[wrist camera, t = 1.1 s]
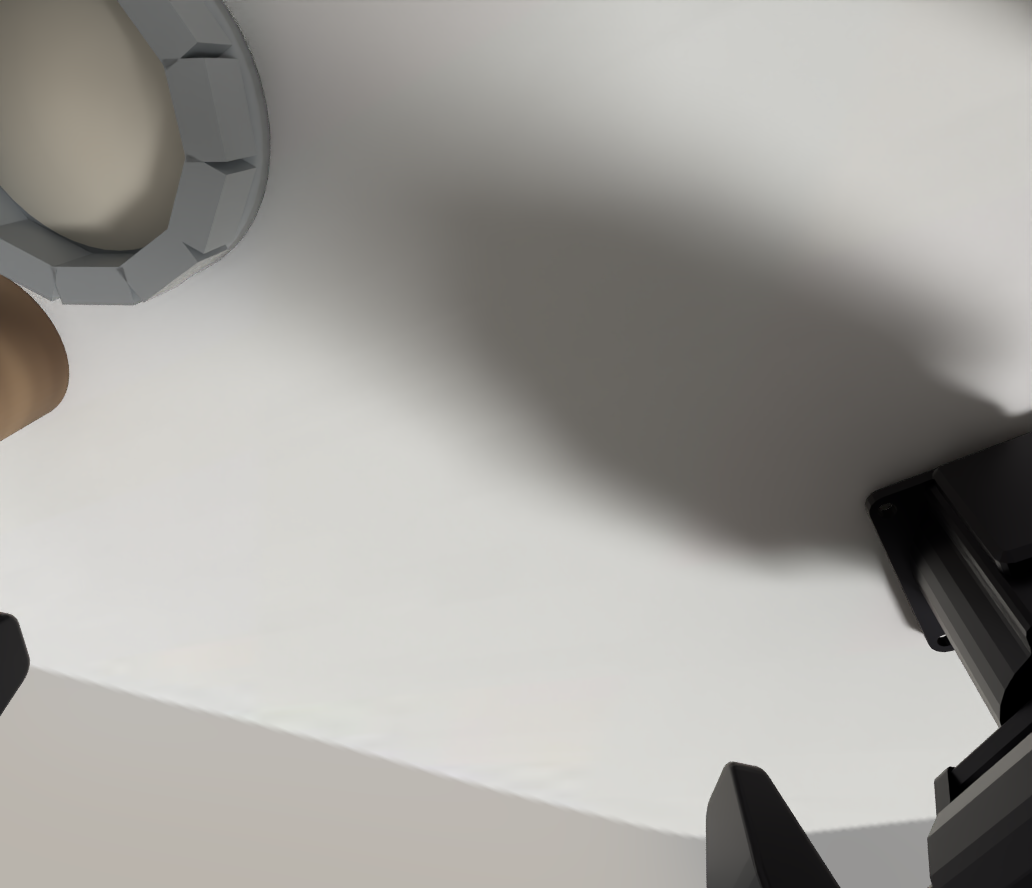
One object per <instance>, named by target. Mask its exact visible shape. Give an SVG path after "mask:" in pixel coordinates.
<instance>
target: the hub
mask: <svg viewBox="0 0 1032 888" xmlns="http://www.w3.org/2000/svg"><path fill="white" fill-rule="evenodd" d="M269 162H270V128H269V121H268V113H267V106H266V101H265V97H264V93H263V89H262V85H261V80H260V78H259V75H258V72H257V69H256V66H255V63H254V60H253V58H252V55H251V53H250V50H249V48H248V46H247V44H246V42H245V40H244V38H243V35H242V33H241V31H240V29H239V27H238V26H237V24H236V22H235V21H234V19H233V17H232V15H231V14H230V12H229V10H228V9H227V7H226V5H225V4H224V2H223V1H222V0H0V274H1V275H3V276H5V277H6V278H8V279H10V280H12V281H14V282H16V283H18V284H20V285H22V286H24V287H25V288H27V289H29V290H31V291H33V292H35V293H37V294H39V295H41V296H43V297H45V298H46V299H48V300H50V301H54V300H56V299H59V298H61V301H62V304H79V305H136V304H138V303H140V302H142V301H143V302H146V301H148V300H150V299H152V298H154V297H156V296H158V295H160V294H163V293H165V292H167V291H169V290H171V289H173V288H175V287H177V286H178V285H180V284H181V283H182V282H184V281H185V280H187V279H188V278H189V277H191V276H192V275H193V274H195V273H198V272H200V271H202V270H204V269H206V268H208V267H209V266H211V265H213V264H214V263H216V262H218V261H219V260H221V259H222V258H223V257H224V256H225V255H227V254H228V253H229V252H230V251H231V250H232V249H234V248H235V246H236V245H237V244H238V243H239V241H240V240H241V239H242V238H243V237H244V235H245V234H246V233H247V231H248V229H249V227H250V226H251V224H252V222H253V221H254V219H255V217H256V214H257V212H258V209H259V207H260V204H261V202H262V199H263V196H264V192H265V187H266V183H267V179H268V171H269Z"/></svg>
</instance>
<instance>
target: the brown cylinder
mask: <svg viewBox="0 0 1032 888" xmlns="http://www.w3.org/2000/svg"><path fill="white" fill-rule="evenodd" d="M68 381H69V365H68V359H67V355H66V351H65V348H64V345H63V343H62V340H61V338H60V336H59V334H58V332H57V330H56V328H55V327H54V325H53V323H52V322H51V320H50V319H49V317H48V316H47V315H46V313H45V312H44V311H43V310H42V308H41V307H40V306H39V305H38V304H37V303H36V302H35V301H34V300H33V299H32V298H31V296H30V295H28V294H27V293H26V292H25V291H24V290H23V289H21V288H20V287H19V286H18V285H16V284H15V283H13V282H12V281H11V280H9V279H8V278H6V277H4V276H3V275H1V274H0V441H1V440H3V439H5V438H7V437H8V436H10V435H12V434H13V433H15V432H17V431H18V430H20V429H22V428H23V427H25V426H27V425H29V424H30V423H32V422H34V421H35V420H37V419H39V418H40V417H42V416H44V415H46V414H47V413H49V412H51V411H52V410H53V409H54V408H56V407H57V406H58V405H59V403H60V402H61V401H62V399H63V397H64V395H65V393H66V390H67V387H68Z"/></svg>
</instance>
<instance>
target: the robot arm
mask: <svg viewBox="0 0 1032 888" xmlns="http://www.w3.org/2000/svg"><path fill="white" fill-rule="evenodd" d="M887 503H891V504H892V505H891V507H890V508H888V509H886V510H879V508H880V506H882V505H884V504H887ZM865 507H866V511H867V513H868V515H869V517H870V519H871V522H872V524H873V526H874V528H875V530H876V532H877V535H878V537H879V539H880V541H881V543H882V546H883V548H884V550H885V552H886V554H887V556H888V559H889V561H890V563H891V565H892V567H893V569H894V572H895V574H896V576H897V578H898V580H899V582H900V585H901V587H902V589H903V591H904V593H905V595H906V598H907V600H908V602H909V604H910V606H911V608H912V611H913V613H914V615H915V617H916V619H917V621H918V624H919V626H920V628H921V630H922V632H923V634H924V637H925V638H926V640H927V642H928V644H929V646H930V647H931V648H932V649H933V650H936V651H939V652H948V651H953V650H955V651H956V653H957V655H958V657H959V658H960V660H961V662H962V664H963V665H964V667H965V669H966V671H967V672H968V674H969V676H970V678H971V679H972V681H973V683H974V685H975V686H976V688H977V690H978V692H979V693H980V695H981V697H982V699H983V701H984V702H985V704H986V706H987V708H988V709H989V711H990V713H991V715H992V716H993V718H994V720H995V722H996V723H997V725H998V727H999V729H997V730H996V731H995V732H994V733H993V734H992V735H991V736H990V737H989V738H987V739H986V740H985V741H984V742H983V743H982V744H981V745H980V746H979V747H977V748H976V749H975V750H974V751H973V752H972V753H971V754H970V755H969V756H967V757H966V758H965V759H964V760H963V761H962V762H961V763H960V764H959V765H957V766H956V767H948V768H947V769H946V770H945V771H943V772H942V773H941V774H940V775H939V776H938V777H937V778H936V779H935V781H934V786H935V800H936V815H937V817H936V820H935V822H934V824H933V826H932V829H931V831H930V833H929V836H928V838H927V841H928V855H929V871H930V879H931V882H932V884H931V885H930V886H929V887H927V888H1032V432H1031V433H1028V434H1025V435H1022V436H1020V437H1017V438H1014V439H1012V440H1009V441H1006V442H1004V443H1001V444H998V445H995V446H993V447H990V448H987V449H985V450H982V451H979V452H977V453H974V454H971V455H968V456H966V457H963V458H960V459H958V460H955V461H952V462H950V463H947V464H944V465H942V466H939V467H938V468H936V469H933V470H931V471H928V472H925V473H923V474H920V475H917V476H914V477H912V478H909V479H906V480H904V481H901V482H898V483H896V484H893V485H890V486H887V487H885V488H882V489H879V490H877V491H875V492H873V493H871V494H870V496H869V497H868V498H867V499H866V502H865ZM942 635H946V636H944V637H940V636H942ZM29 666H30V658H29V654H28V651H27V648H26V645H25V641H24V638H23V635H22V632H21V628H20V625H19V622H18V620H17V619H16V618H15V617H14V616H13V615H11V614H8V613H3V612H0V716H1V714H2V713H3V711H4V710H5V708H6V706H7V705H8V703H9V702H10V700H11V699H12V697H13V696H14V694H15V693H16V691H17V690H18V688H19V687H20V685H21V684H22V682H23V681H24V678H25V677H26V675H27V673H28V670H29ZM706 873H707V874H706V875H707V876H706V878H707V888H840V886H839V885H838V883H837V882H836V880H835V879H834V877H833V876H832V874H831V872H830V871H829V869H828V868H827V866H826V865H825V863H824V862H823V860H822V859H821V857H820V855H819V854H818V852H817V851H816V849H815V848H814V846H813V844H812V843H811V841H810V840H809V838H808V837H807V835H806V834H805V832H804V830H803V829H802V827H801V826H800V824H799V823H798V821H797V820H796V818H795V816H794V815H793V813H792V812H791V810H790V809H789V807H788V806H787V804H786V802H785V801H784V799H783V798H782V796H781V795H780V793H779V792H778V790H777V788H776V787H775V785H774V784H773V782H772V781H771V779H770V778H769V776H768V775H767V773H766V772H765V771H764V770H763V769H761V768H759V767H757V766H752V765H748V764H743V763H738V762H729V763H727V764H726V765H725V767H724V768H723V770H722V773H721V775H720V777H719V779H718V782H717V784H716V786H715V788H714V791H713V793H712V795H711V798H710V800H709V803H708V807H707V813H706Z"/></svg>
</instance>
